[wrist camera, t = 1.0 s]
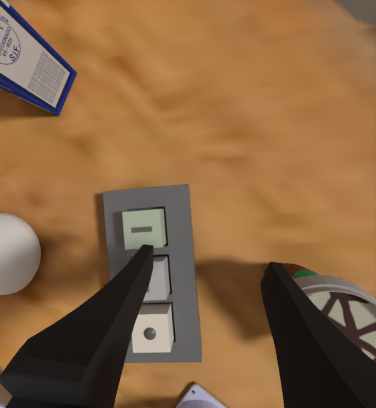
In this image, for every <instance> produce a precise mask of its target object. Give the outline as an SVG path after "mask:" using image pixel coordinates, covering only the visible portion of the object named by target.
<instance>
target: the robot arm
mask: <svg viewBox="0 0 376 408" xmlns="http://www.w3.org/2000/svg"><path fill="white" fill-rule="evenodd" d="M153 252H154V245H146V244H143V245H142V246H141V247H140V249H139V250H138V251H137V253H136V254H135V255H134V256H133V257H132V259H131V260H130V261H129V262H128V263H127V264H126V265H125V266H124V267H123V268H122V270H121V271H120V272H119V273H118V274H117V275H116V276H115V277H114V278H112V279H111V280H110V281H109V282H108V283H107V284H106V285H105V286H104V287H103V288H102V289H100V290H99V291H98V292H97V293H96V294H95V295H93V296H92V297H91V298H89V299H88V300H87V301H86V302H84V303H83V304H82V305H80V306H79V307H78V308H76V309H75V310H73V311H72V312H70V313H69V314H68V315H66V316H65V317H63V318H62V319H60V320H59V321H57V322H56V323H54V324H52V325H51V326H49V327H47V328H46V329H44V330H43V331H41V332H39V333H38V334H36V335H34V336H33V337H31V338H29V339H28V340H27V341H26V342H25V343H24V345H23V346H22V347H21V348H20V349H19V350H18V352H17V353H16V354H15V356H14V357H13V358H12V360H11V361H10V363H9V364H8V365H7V367H6V368H5V370H4V371H3V372H2V374H1V375H0V383H1V384H2V386H3V387H4V388H5V389H6V390H7V391H8V392H10V394H11V395H12V396H13V397H12V398H11V400H10V402H9V403H8V405H7V406H6V405H4V404H2V403H0V408H113V406H114V402H115V398H116V394H117V390H118V385H119V381H120V377H121V374H122V370H123V366H124V362H125V358H126V354H127V350H128V347H129V343H130V339H131V336H132V332H133V328H134V325H135V322H136V319H137V316H138V314H139V311H140V308H141V305H142V303H143V300H144V297H145V295H146V292H147V289H148V286H149V283H150V280H151V276H152V272H153ZM261 291H262V298H263V303H264V307H265V310H266V314H267V318H268V322H269V325H270V329H271V333H272V336H273V340H274V345H275V349H276V355H277V360H278V366H279V373H280V379H281V386H282V393H283V401H284V408H376V362H375V361H373V360H372V359H371V358H370V357H369V356H367V355H366V354H365V353H364V352H363V351H362V350H360V349H359V348H358V347H357V346H356V345H355V344H354V343H353V342H351V341H350V340H349V339H348V338H347V337H346V336H345V335H344V334H343V333H342V332H341V331H340V330H339V329H338V328H337V327H336V326H335V325H334V324H332V323H331V322H330V321H329V320H328V319H327V317H326V316H325V315H324V314H323V313H322V312H321V311H320V310H319V309H318V308H317V307H316V306H315V305H314V303H313V302H312V301H311V300H310V299H309V298H308V297H307V295H306V294H305V293H304V292H303V291H302V289H301V288H300V287H299V286H298V285H297V283H296V282H295V281H294V280H293V278H292V277H291V276H290V275H289V273H288V272H287V271H286V269H285V268H284V267H283V266H282V265H281V263H276V262H270V263H269V266H268V268H267V270H266V272H265V275H264V277H263V279H262V281H261ZM192 390H193V391H194V392H193V391H192ZM175 408H227V407H226V406H224V405H223V404H222V403H221V402H219V401H218V400H217V399H216V398H214V397H213V396H212V395H211V394H209V393H208V392H207V391H205V390H204V389H203V388H202V387H200V386H199V385H198V384H196V383H194V384H193V385H192V386H191V387H190V389H189V390H188V391H187V393H186V394H185V395H184V396H183V398H182V399H181V400H180V402H179V403H178V404H177V406H176V407H175Z"/></svg>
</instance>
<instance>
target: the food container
mask: <svg viewBox="0 0 376 408" xmlns="http://www.w3.org/2000/svg"><path fill="white" fill-rule="evenodd" d="M281 265H282V266H283V267H284V268H285V269H286V271H287V272H288V273H289V275H290V276H291V277H292V278H293V280H294V281H295V282H296V283H297V285H298V286H299V287H300V288H301V289H302V291H303V292H304V293H305V294H306V295H307V297H308V298H309V299H310V300H311V301H312V302H313V303H314V305H315V306H316V307H317V308H318V309H319V310H320V311H321V312H322V313H323V314H324V315H325V316H326V317H327V319H328V320H329V321H330V322H331V323H332V324H334V325H335V326H336V327H337V328H338V329H339V330H340V331H341V332H342V333H343V334H344V335H345V336H346V337H347V338H348V339H349V340H350V341H351V342H353V343H354V344H355V345H356V346H357V347H358V348H359V349H360V350H362V351H363V352H364V353H365V354H366V355H367V356H369V357H370V358H371V359H372V360H373V361H375V362H376V299H375V298H374V297H372V296H371V295H370V294H369V293H368V292H366V291H365V290H364V289H362V288H361V287H359V286H357V285H356V284H354V283H352V282H350V281H347V280H344V279H342V278H338V277H334V276H328V275H319V274H317V273H315V272H313V271H311V270H309V269H306V268H304V267H302V266H299V265H295V264H281ZM266 270H267V269H266ZM266 270H264V271H263V272H264V273H265V272H266Z"/></svg>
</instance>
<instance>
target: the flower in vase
mask: <svg viewBox="0 0 376 408" xmlns="http://www.w3.org/2000/svg"><path fill="white" fill-rule="evenodd" d="M40 259H41V248H40V243H39V240H38V237H37V235H36V233H35V232H34V230H33V229H32V228H31V226H30V225H29V224H28V223H26V222H25V221H24V220H22V219H21V218H19V217H17V216H15V215H12V214H9V213H0V295H8V294H13V293H16V292H18V291H20V290H22V289H23V288H24V287H26V286H27V285H28V284H29V283H30V282H31V280H32V279H33V277H34V276H35V274H36V272H37V270H38V267H39V264H40Z"/></svg>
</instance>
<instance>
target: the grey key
mask: <svg viewBox="0 0 376 408" xmlns="http://www.w3.org/2000/svg"><path fill="white" fill-rule="evenodd" d="M127 263H128V262H127ZM127 263H126V264H127ZM169 292H170V284H169V272H168V259H167V256H158V257H153V272H152V276H151V280H150V283H149V286H148V289H147V292H146V295H145V297H144V300H143V301H147V300H166V299H167V297H168V294H169Z"/></svg>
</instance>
